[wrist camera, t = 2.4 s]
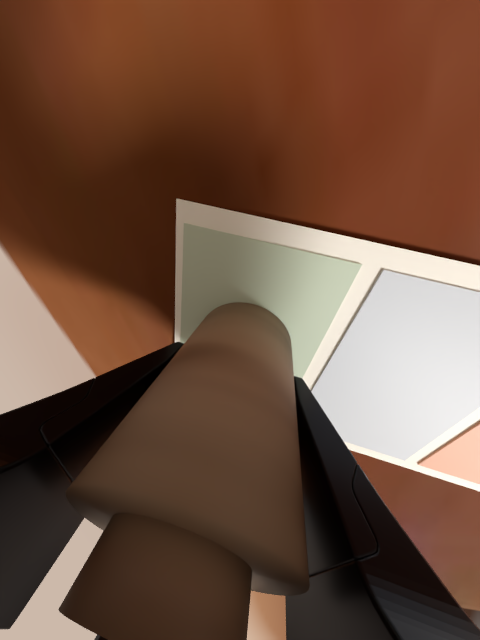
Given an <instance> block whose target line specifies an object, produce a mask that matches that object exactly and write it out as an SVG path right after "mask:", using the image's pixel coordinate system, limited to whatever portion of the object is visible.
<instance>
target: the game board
mask: <svg viewBox="0 0 480 640" xmlns="http://www.w3.org/2000/svg"><path fill="white" fill-rule="evenodd" d="M234 302H244V303H251V304H255V305H258V306H261V307H263V308H265V309H267V310H269V311H270V312H272V313H273V314H274V315H276V316H277V317H278V318H279V319H280V320H281V321H282V322H283V324H284V325H285V327H286V328H287V330H288V332H289V335H290V338H291V345H292V358H293V372H294V376H297V377H300V378H302V379H303V380H304V381H305V383H306V384H307V386H308V387H309V389H310V391H311V392H312V394H313V395H314V397H315V398H316V400H317V401H318V403H319V404H320V406H321V407H322V409H323V411H324V412H325V414H326V415H327V417H328V418H329V420H330V421H331V423H332V424H333V426H334V427H335V429H336V431H337V432H338V434H339V435H340V437H341V438H342V440H343V441H344V443H345V444H346V446H347V447H348V449H349V450H352V451H355V452H358V453H362V454H365V455H368V456H371V457H374V458H377V459H380V460H383V461H387V462H390V463H393V464H396V465H399V466H402V467H405V468H408V469H412V470H415V471H418V472H421V473H424V474H427V475H430V476H433V477H437V478H440V479H443V480H446V481H449V482H452V483H455V484H458V485H461V486H465V487H468V488H471V489H474V490H477V491H480V266H478V265H474V264H469V263H465V262H460V261H456V260H451V259H447V258H442V257H438V256H433V255H429V254H424V253H420V252H415V251H411V250H406V249H402V248H397V247H393V246H388V245H384V244H379V243H375V242H370V241H366V240H361V239H357V238H352V237H348V236H343V235H339V234H334V233H330V232H325V231H321V230H316V229H312V228H307V227H303V226H298V225H294V224H289V223H285V222H280V221H276V220H271V219H267V218H263V217H258V216H254V215H249V214H245V213H240V212H236V211H231V210H227V209H222V208H218V207H213V206H209V205H204V204H200V203H195V202H191V201H186V200H182V199H177V198H176V271H175V342H181V343H185V342H186V341H187V340H188V338H189V337H190V336H191V335H192V333H193V332H194V331H195V330H196V328H197V327H198V326H199V325H200V323H201V322H202V321H203V320H204V318H205V317H206V316H207V315H208V314H209V313H210V312H211V311H212V310H214V309H215V308H217V307H219V306H221V305H224V304H228V303H234Z"/></svg>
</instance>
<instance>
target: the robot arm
mask: <svg viewBox="0 0 480 640" xmlns="http://www.w3.org/2000/svg"><path fill="white" fill-rule="evenodd" d="M183 345H184V343H181V342H175V343H173V344H171V345H168V346H166V347H164V348H162V349H159V350H157V351H155V352H152V353H150V354H148V355H146V356H143V357H141V358H139V359H136V360H134V361H132V362H130V363H127V364H125V365H123V366H120V367H118V368H116V369H114V370H111V371H109V372H107V373H104V374H102V375H100V376H98V377H96V378H95V379H94V378H93V379H91V380H88V381H86V382H84V383H81V384H79V385H77V386H74V387H72V388H69V389H67V390H65V391H62V392H60V393H57V394H55V395H52V396H49V397H47V398H44V399H41V400H39V401H36V402H33V403H31V404H28V405H25V406H22V407H20V408H17V409H15V410H12V411H9V412H6V413H3V414H1V415H0V629H10V628H11V626H12V625H13V623H14V622H15V621H16V619H17V618H18V616H19V615H20V613H21V612H22V610H23V609H24V607H25V606H26V604H27V603H28V601H29V600H30V598H31V597H32V595H33V594H34V592H35V591H36V589H37V588H38V586H39V585H40V583H41V582H42V580H43V579H44V577H45V576H46V574H47V573H48V571H49V570H50V569H51V567H52V565H53V564H54V563H55V561H56V560H57V558H58V557H59V555H60V553H61V552H62V551H63V549H64V547H65V546H66V544H67V543H68V542H69V540H70V538H71V537H72V536H73V534H74V533H75V531H76V530H77V528H78V527H79V525H80V524H81V522H82V520H83V519H84V518H85V517H83V516H82V515H81V514H80V513H79V512H78V511H76V510H75V509H74V508H73V507H72V505H71V504H70V503H69V502H68V500H67V498H66V490H67V489H68V488H69V486H70V485H71V484H72V483H73V481H74V480H75V479H76V478H77V476H78V475H79V474H80V473H81V471H82V470H83V469H84V468H85V466H86V465H87V464H88V463H89V461H90V460H91V459H92V458H93V456H94V455H95V454H96V453H97V451H98V450H99V449H100V448H101V446H102V445H103V444H104V443H105V442H106V440H107V439H108V438H109V437H110V435H111V434H112V433H113V432H114V430H115V429H116V428H117V427H118V425H119V424H120V423H121V422H122V420H123V419H124V418H125V417H126V415H127V414H128V413H129V412H130V410H131V409H132V408H133V407H134V405H135V404H136V403H137V402H138V400H139V399H140V398H141V397H142V396H143V394H144V393H145V392H146V391H147V389H148V388H149V387H150V386H151V384H152V383H153V382H154V381H155V379H156V378H157V377H158V376H159V374H160V373H161V372H162V371H163V369H164V368H165V367H166V366H167V364H168V363H169V362H170V361H171V359H172V358H173V357H174V356H175V354H176V353H177V352H178V351H179V350H180V348H181V347H182V346H183ZM294 385H295V398H296V411H297V424H298V438H299V451H300V464H301V477H302V490H303V504H304V517H305V530H306V543H307V556H308V570H309V583H310V587H309V590H308V591H307V592H306V593H304V594H301V595H295V596H286V640H480V629H479V628H478V627H477V626H476V625H475V624H474V623H473V621H472V620H471V619H470V618H469V616H468V615H467V614H466V613H465V611H464V610H463V609H462V608H461V606H460V605H459V604H458V602H457V601H456V600H455V599H454V597H453V596H452V595H451V593H450V592H449V591H448V589H447V588H446V587H445V585H444V584H443V582H442V581H441V580H440V578H439V577H438V576H437V574H436V573H435V572H434V570H433V569H432V567H431V566H430V565H429V563H428V562H427V561H426V559H425V558H424V557H423V555H422V554H421V553H420V551H419V550H418V548H417V547H416V546H415V544H414V543H413V542H412V540H411V539H410V538H409V536H408V535H407V533H406V532H405V531H404V529H403V528H402V527H401V525H400V524H399V523H398V521H397V520H396V518H395V517H394V516H393V514H392V513H391V511H390V510H389V509H388V507H387V506H386V504H385V503H384V502H383V500H382V499H381V497H380V496H379V494H378V493H377V491H376V490H375V488H374V487H373V485H372V484H371V483H370V481H369V480H368V478H367V477H366V475H365V473H364V472H363V470H362V469H361V467H360V466H359V465H358V464H357V461H356V460H355V458H354V457H353V455H352V454H351V452H350V451H349V449H348V447H347V446H346V444H345V443H344V441H343V440H342V438H341V437H340V435H339V434H338V432H337V431H336V429H335V427H334V426H333V424H332V423H331V421H330V420H329V418H328V417H327V415H326V414H325V412H324V411H323V409H322V407H321V406H320V404H319V403H318V401H317V400H316V398H315V397H314V395H313V394H312V392H311V391H310V389H309V387H308V386H307V384H306V383H305V381H304V380H303V379H302V378H300V377H297V376H294ZM95 640H108V639H106V638H104V637H102V636H100V635H98V634H97V636H96V638H95Z"/></svg>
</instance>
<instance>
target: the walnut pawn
mask: <svg viewBox="0 0 480 640" xmlns="http://www.w3.org/2000/svg"><path fill="white" fill-rule="evenodd" d="M66 498H67V500H68V502H69V503H70V504H71V505H72V507H73V508H74V509H75V510H76V511H78V512H79V513H80V514H81V515H82V516H83V517H85V518H86V519H87V520H89V521H90V522H92V523H93V524H94V525H96V526H97V527H99V528H101V529H102V530H104V531H103V533H102V535H101V537H100V539H99V540H98V542H97V544H96V545H95V547H94V549H93V551H92V552H91V554H90V556H89V557H88V560H87V561H86V563H85V564H84V566H83V568H82V570H81V571H80V573H79V575H78V577H77V578H76V580H75V582H74V583H73V585H72V587H71V589H70V590H69V592H68V594H67V596H66V597H65V599H64V601H63V603H62V604H61V606H60V608H59V611H60V612H61V613H62V614H63V615H64V616H66V617H68V618H69V619H71V620H72V621H74V622H76V623H78V624H79V625H81V626H83V627H84V628H86V629H88V630H90V631H92V632H94V633H96V634H98V635H100V636H102V637H104V638H106V639H108V640H247V639H246V638H247V628H248V616H249V604H250V593H251V590H252V591H256V592H261V593H267V594H274V595H284V596H295V595H301V594H304V593H306V592H307V591H308V590H309V587H310V583H309V570H308V556H307V543H306V530H305V517H304V504H303V490H302V477H301V464H300V451H299V438H298V424H297V411H296V398H295V385H294V372H293V358H292V345H291V338H290V335H289V332H288V330H287V328H286V327H285V325H284V324H283V322H282V321H281V320H280V319H279V318H278V317H277V316H276V315H274V314H273V313H272V312H270V311H269V310H267V309H265V308H263V307H261V306H258V305H255V304H251V303H244V302H234V303H228V304H224V305H221V306H219V307H217V308H215V309H214V310H212V311H211V312H210V313H209V314H208V315H207V316H206V317H205V318H204V320H203V321H202V322H201V323H200V325H199V326H198V327H197V328H196V330H195V331H194V332H193V333H192V335H191V336H190V337H189V338H188V340H187V341H186V342H185V343H184V345H183V346H182V347H181V348H180V350H179V351H178V352H177V353H176V354H175V356H174V357H173V358H172V359H171V361H170V362H169V363H168V364H167V366H166V367H165V368H164V369H163V371H162V372H161V373H160V374H159V376H158V377H157V378H156V379H155V381H154V382H153V383H152V384H151V386H150V387H149V388H148V389H147V391H146V392H145V393H144V394H143V396H142V397H141V398H140V399H139V400H138V402H137V403H136V404H135V405H134V407H133V408H132V409H131V410H130V412H129V413H128V414H127V415H126V417H125V418H124V419H123V420H122V422H121V423H120V424H119V425H118V427H117V428H116V429H115V430H114V432H113V433H112V434H111V435H110V437H109V438H108V439H107V440H106V442H105V443H104V444H103V445H102V446H101V448H100V449H99V450H98V451H97V453H96V454H95V455H94V456H93V458H92V459H91V460H90V461H89V463H88V464H87V465H86V466H85V468H84V469H83V470H82V471H81V473H80V474H79V475H78V476H77V478H76V479H75V480H74V481H73V483H72V484H71V485H70V486H69V488H68V489H67V490H66Z"/></svg>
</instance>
